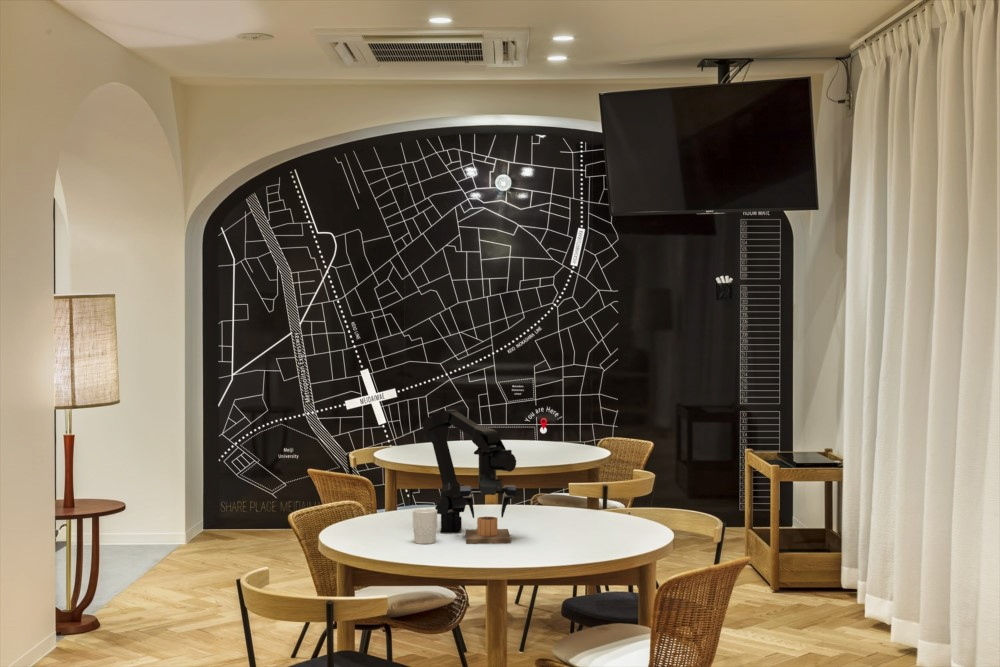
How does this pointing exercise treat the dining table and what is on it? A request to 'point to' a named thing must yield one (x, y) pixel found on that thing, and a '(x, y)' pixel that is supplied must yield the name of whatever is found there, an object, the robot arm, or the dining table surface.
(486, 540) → the brown piece
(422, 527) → the white cup
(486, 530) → the orange short hollow cylinder
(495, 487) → the robot arm
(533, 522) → the dining table surface
